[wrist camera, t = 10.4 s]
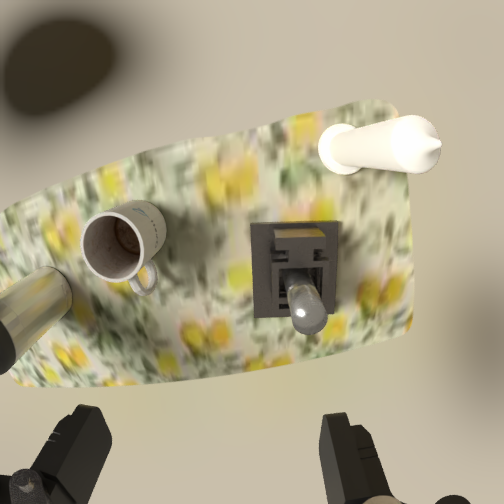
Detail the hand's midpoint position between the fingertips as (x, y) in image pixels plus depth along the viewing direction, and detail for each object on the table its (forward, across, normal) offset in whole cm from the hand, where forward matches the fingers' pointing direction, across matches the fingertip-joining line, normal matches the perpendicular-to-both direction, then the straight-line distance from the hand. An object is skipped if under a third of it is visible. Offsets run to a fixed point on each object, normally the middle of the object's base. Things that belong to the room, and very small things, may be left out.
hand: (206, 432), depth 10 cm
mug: (+36, +15, +2) cm, 39 cm away
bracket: (+36, -7, +7) cm, 37 cm away
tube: (+35, -7, +7) cm, 36 cm away
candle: (+36, -14, -10) cm, 40 cm away
